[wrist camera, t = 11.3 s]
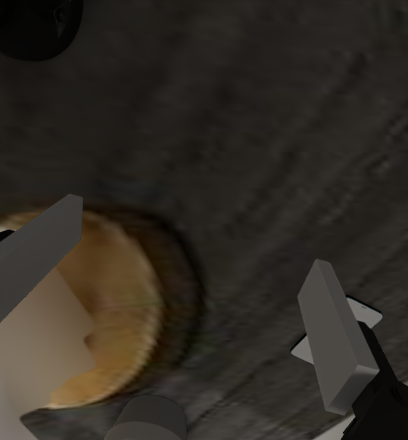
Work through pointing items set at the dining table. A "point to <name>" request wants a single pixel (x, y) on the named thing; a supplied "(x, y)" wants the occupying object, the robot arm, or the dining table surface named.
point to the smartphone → (361, 314)
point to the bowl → (149, 420)
